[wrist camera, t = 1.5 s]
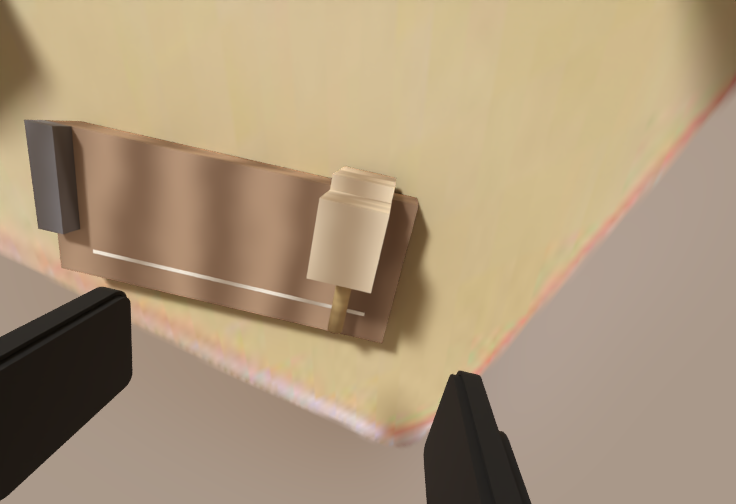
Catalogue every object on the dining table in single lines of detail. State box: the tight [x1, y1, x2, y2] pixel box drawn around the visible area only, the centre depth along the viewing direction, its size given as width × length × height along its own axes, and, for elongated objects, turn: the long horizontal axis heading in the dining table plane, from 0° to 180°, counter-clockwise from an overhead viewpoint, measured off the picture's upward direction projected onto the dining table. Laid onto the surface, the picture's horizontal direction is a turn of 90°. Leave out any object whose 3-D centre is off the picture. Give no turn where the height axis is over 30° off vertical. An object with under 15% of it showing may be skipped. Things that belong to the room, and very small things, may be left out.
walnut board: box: [24, 120, 419, 343], centre depth 28 cm, size 28×12×4 cm, turn 78°
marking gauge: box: [307, 166, 396, 334], centre depth 25 cm, size 4×12×8 cm, turn 168°
